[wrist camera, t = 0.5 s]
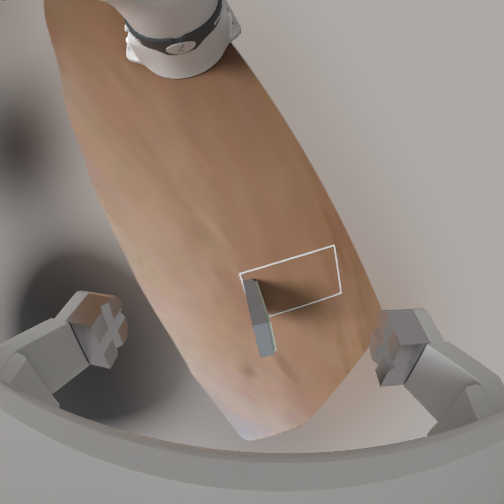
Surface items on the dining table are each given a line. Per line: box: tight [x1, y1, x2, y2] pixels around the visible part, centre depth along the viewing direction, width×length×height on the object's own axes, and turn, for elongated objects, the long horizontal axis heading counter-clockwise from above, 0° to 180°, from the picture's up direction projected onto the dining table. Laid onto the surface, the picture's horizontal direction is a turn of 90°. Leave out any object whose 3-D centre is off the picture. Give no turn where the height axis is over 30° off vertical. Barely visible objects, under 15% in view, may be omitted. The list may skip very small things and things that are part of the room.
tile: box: [243, 279, 276, 358], centre depth 46 cm, size 6×2×14 cm, turn 11°
